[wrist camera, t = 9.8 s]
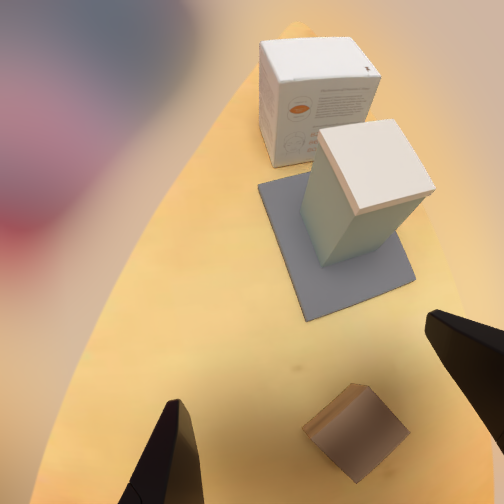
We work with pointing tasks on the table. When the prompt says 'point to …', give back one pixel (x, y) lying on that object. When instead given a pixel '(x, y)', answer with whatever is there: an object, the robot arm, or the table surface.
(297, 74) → the small box
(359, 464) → the walnut block
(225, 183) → the table surface
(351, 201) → the tea tin
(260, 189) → the felt coaster
